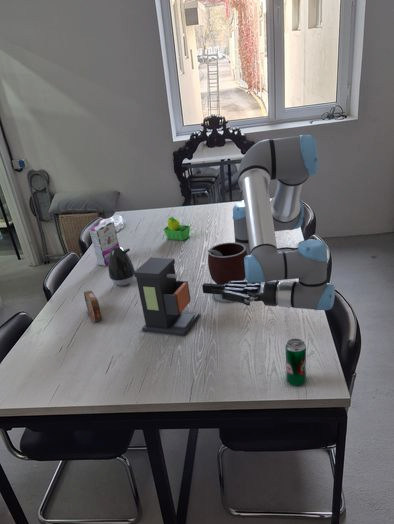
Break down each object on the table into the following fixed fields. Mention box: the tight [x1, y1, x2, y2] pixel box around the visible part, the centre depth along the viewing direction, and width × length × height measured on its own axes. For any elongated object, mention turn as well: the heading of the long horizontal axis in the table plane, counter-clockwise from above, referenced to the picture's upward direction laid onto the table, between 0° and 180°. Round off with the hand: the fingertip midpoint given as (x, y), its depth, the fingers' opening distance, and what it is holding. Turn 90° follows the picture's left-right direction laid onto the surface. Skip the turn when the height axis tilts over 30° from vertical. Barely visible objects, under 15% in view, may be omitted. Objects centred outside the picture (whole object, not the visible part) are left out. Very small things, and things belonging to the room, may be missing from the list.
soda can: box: [285, 337, 307, 387], centre depth 124 cm, size 5×5×12 cm
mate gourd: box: [207, 242, 248, 304], centre depth 168 cm, size 16×14×20 cm
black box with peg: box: [134, 257, 200, 336], centre depth 156 cm, size 15×13×21 cm
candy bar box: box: [88, 221, 120, 267], centre depth 211 cm, size 11×5×16 cm, turn 148°
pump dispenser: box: [107, 246, 136, 287], centre depth 190 cm, size 10×10×15 cm
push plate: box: [174, 283, 191, 314], centre depth 154 cm, size 1×8×7 cm, turn 157°
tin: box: [83, 290, 102, 323], centre depth 171 cm, size 15×3×8 cm, turn 23°
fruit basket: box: [162, 216, 191, 242], centre depth 227 cm, size 11×9×11 cm
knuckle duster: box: [97, 215, 127, 233], centre depth 254 cm, size 3×18×15 cm
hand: (203, 288), depth 149 cm, fingers closed
